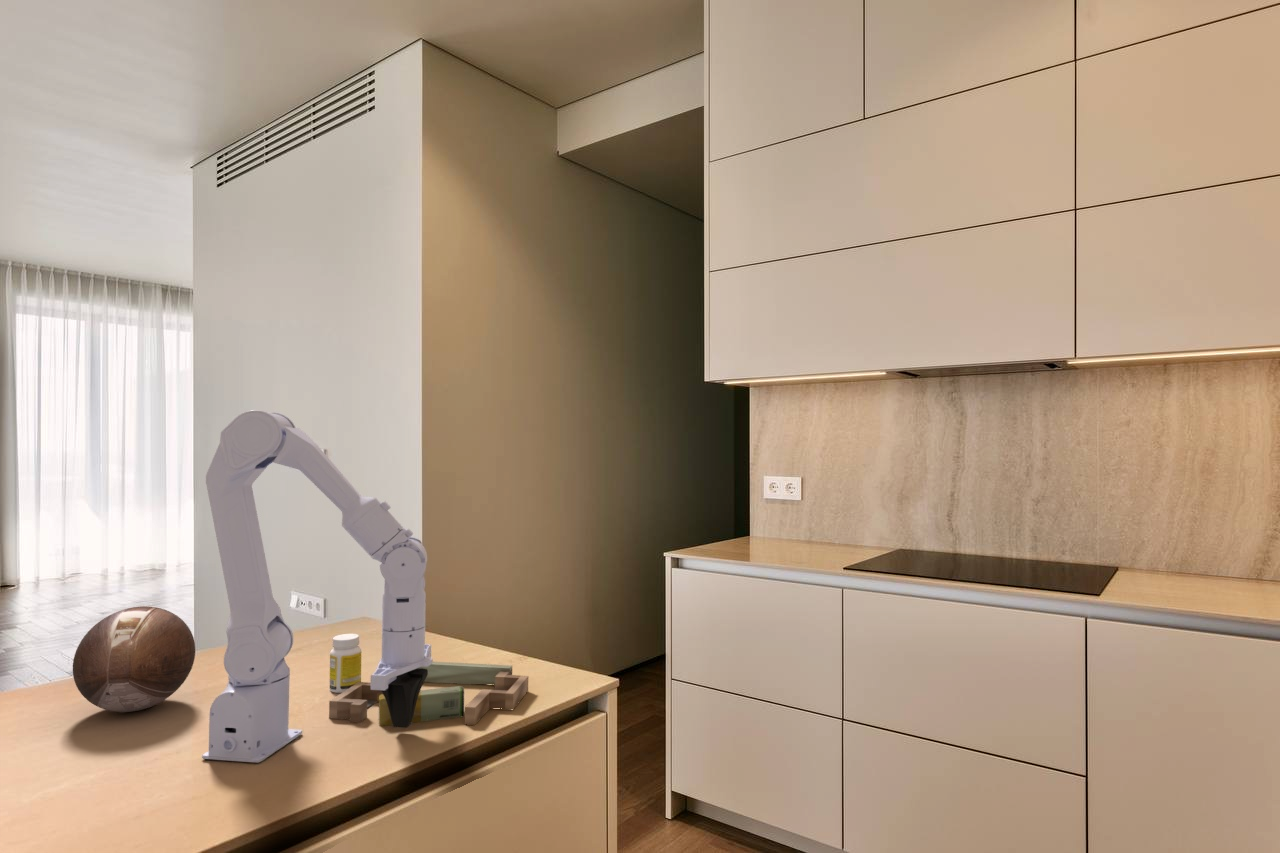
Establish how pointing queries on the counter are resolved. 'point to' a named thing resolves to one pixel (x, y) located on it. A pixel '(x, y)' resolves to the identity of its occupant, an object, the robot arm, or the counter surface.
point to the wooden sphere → (133, 659)
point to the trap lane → (504, 695)
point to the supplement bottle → (345, 662)
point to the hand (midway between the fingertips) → (401, 725)
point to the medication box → (430, 705)
